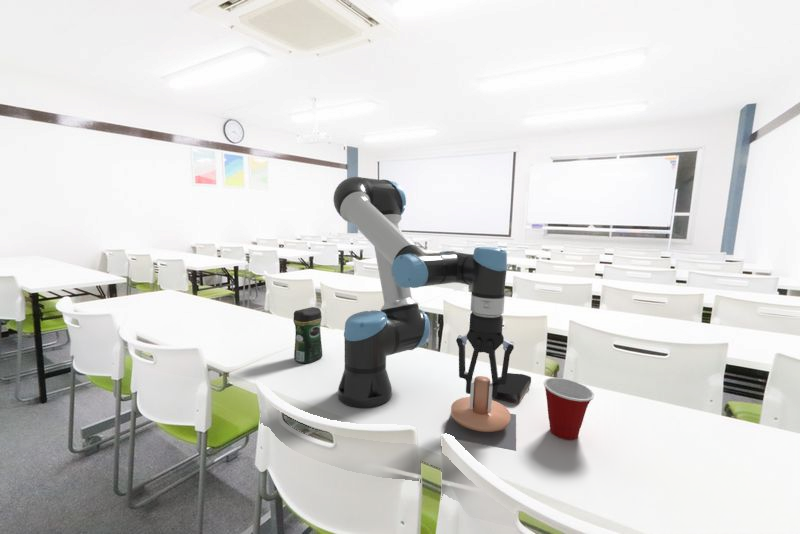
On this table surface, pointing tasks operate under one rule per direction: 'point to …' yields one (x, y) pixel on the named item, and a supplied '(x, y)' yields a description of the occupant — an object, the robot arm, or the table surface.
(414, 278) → the robot arm
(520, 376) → the black sponge
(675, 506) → the table surface
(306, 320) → the coffee jar
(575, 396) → the plastic cup
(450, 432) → the mat
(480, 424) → the lid
